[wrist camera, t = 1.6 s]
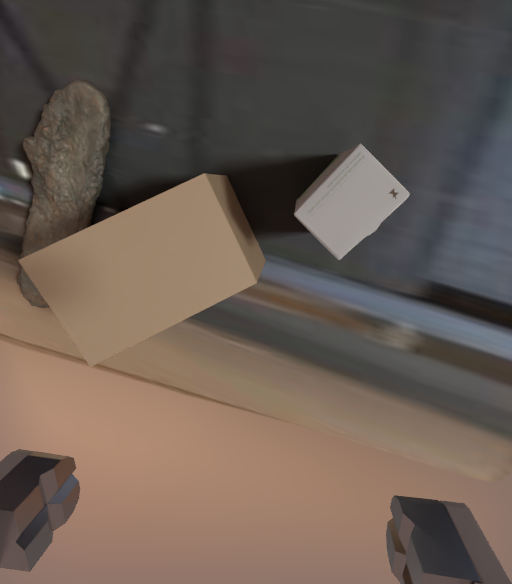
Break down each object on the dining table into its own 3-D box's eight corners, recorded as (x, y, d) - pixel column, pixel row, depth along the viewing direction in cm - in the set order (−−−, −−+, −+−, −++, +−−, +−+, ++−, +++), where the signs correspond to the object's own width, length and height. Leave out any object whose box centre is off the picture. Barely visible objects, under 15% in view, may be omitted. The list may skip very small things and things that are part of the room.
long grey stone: (24, 284, 55) (77, 309, 56) (-2, 297, 50) (57, 324, 51) (60, 66, 41) (131, 104, 41) (28, 54, 36) (109, 97, 37)
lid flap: (21, 259, 31) (17, 260, 31) (204, 174, 33) (204, 173, 32) (92, 364, 35) (90, 366, 34) (256, 282, 36) (257, 282, 36)
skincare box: (340, 152, 40) (363, 135, 25) (375, 189, 41) (416, 193, 26) (293, 202, 43) (289, 212, 28) (327, 235, 43) (340, 263, 29)
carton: (112, 235, 48) (66, 248, 38) (226, 175, 43) (205, 173, 33) (155, 308, 51) (122, 336, 41) (265, 260, 46) (257, 281, 36)
